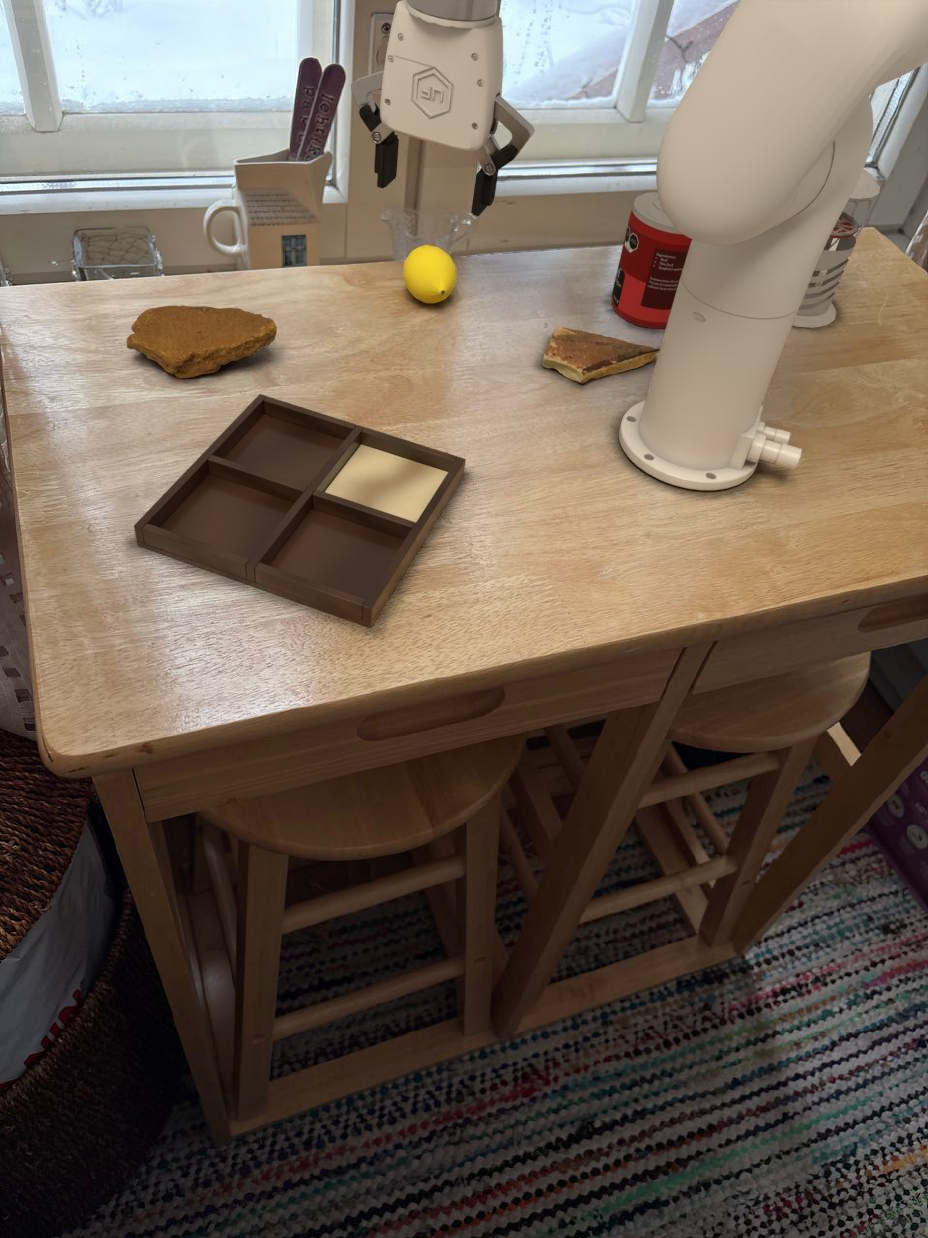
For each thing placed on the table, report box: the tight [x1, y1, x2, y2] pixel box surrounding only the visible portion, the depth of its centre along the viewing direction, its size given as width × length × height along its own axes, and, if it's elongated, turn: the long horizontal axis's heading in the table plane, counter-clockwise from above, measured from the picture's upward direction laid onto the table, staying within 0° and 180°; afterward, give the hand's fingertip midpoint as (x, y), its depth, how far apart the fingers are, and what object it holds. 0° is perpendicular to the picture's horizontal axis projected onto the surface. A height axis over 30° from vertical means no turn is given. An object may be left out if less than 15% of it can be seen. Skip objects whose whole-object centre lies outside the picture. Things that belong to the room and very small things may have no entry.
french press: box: [792, 88, 881, 329], centre depth 100 cm, size 10×12×25 cm
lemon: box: [402, 244, 458, 304], centre depth 99 cm, size 7×5×5 cm
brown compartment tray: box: [133, 393, 467, 629], centre depth 77 cm, size 19×19×2 cm
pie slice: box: [541, 327, 660, 385], centre depth 95 cm, size 11×8×2 cm
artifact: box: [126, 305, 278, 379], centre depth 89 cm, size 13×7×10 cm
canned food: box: [610, 191, 692, 329], centre depth 101 cm, size 8×8×11 cm
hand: (432, 196), depth 94 cm, fingers open, 9 cm apart
